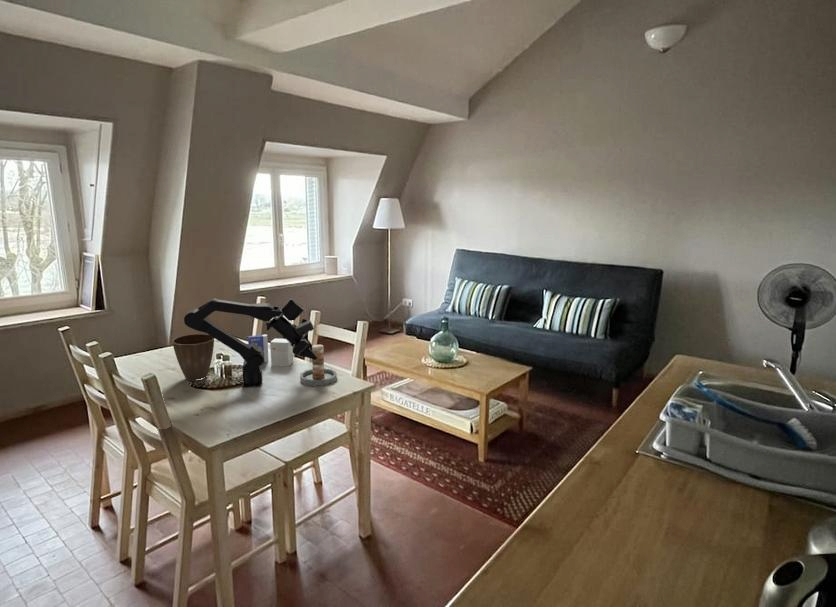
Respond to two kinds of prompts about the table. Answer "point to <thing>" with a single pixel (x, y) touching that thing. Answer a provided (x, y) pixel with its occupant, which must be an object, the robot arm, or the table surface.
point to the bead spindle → (318, 362)
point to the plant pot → (194, 354)
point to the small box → (281, 352)
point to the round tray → (307, 379)
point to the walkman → (260, 343)
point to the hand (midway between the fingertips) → (315, 355)
